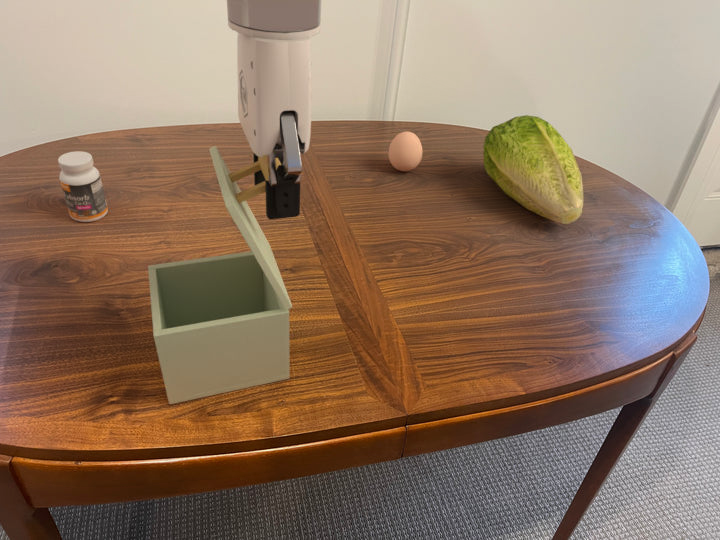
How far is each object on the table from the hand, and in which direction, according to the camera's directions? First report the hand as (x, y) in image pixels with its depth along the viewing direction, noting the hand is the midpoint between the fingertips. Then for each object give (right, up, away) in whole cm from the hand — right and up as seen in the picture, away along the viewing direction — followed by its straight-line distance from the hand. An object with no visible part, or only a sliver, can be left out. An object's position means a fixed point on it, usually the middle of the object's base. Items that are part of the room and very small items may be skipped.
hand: (276, 199), depth 54 cm
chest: (-8, -18, +11) cm, 22 cm away
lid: (-3, -3, +1) cm, 5 cm away
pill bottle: (-35, +2, +32) cm, 48 cm away
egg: (+17, +13, +53) cm, 57 cm away
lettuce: (+40, +6, +47) cm, 62 cm away
